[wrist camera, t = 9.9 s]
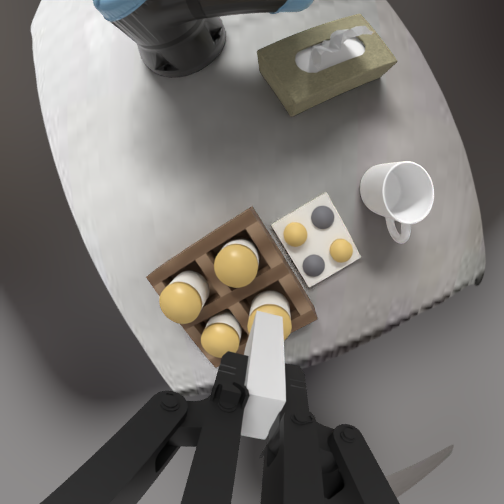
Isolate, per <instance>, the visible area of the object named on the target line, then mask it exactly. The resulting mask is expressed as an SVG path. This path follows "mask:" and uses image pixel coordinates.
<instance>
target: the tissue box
mask: <svg viewBox="0 0 504 504" xmlns="http://www.w3.org/2000/svg"><path fill="white" fill-rule="evenodd" d="M257 56H258V63H259V70H260V73H261V74H262V76H263V77H264V78H265V80H266V81H267V83H268V84H269V85H270V87H271V88H272V90H273V91H274V93H275V94H276V95H277V97H278V98H279V100H280V101H281V103H282V104H283V106H284V107H285V109H286V110H287V112H288V113H289V115H290V116H291V117H293V116H295V115H297V114H299V113H301V112H303V111H305V110H307V109H309V108H311V107H313V106H316V105H318V104H320V103H322V102H324V101H326V100H328V99H331V98H333V97H335V96H337V95H339V94H342V93H344V92H346V91H349V90H351V89H353V88H356V87H358V86H360V85H363V84H365V83H368V82H370V81H373V80H375V79H378V78H380V77H381V76H382V75H383V74H385V73H386V72H387V71H388V70H389V69H390V68H391V67H392V66H393V65H395V64H396V63H397V60H396V58H395V57H394V55H393V54H392V53H391V51H390V50H389V48H388V47H387V46H386V44H385V43H384V42H383V40H382V39H381V38H380V37H379V35H378V34H377V33H376V32H375V30H374V29H373V28H372V27H371V25H370V24H369V23H368V22H367V21H366V20H365V18H364V17H363V16H362V15H361V14H356V15H353V16H349V17H345V18H342V19H338V20H335V21H332V22H328V23H325V24H322V25H319V26H316V27H313V28H310V29H308V30H305V31H302V32H300V33H297V34H294V35H292V36H289V37H287V38H284V39H282V40H280V41H277V42H275V43H273V44H270V45H268V46H266V47H264V48H262V49H259V50H258V51H257Z"/></svg>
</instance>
